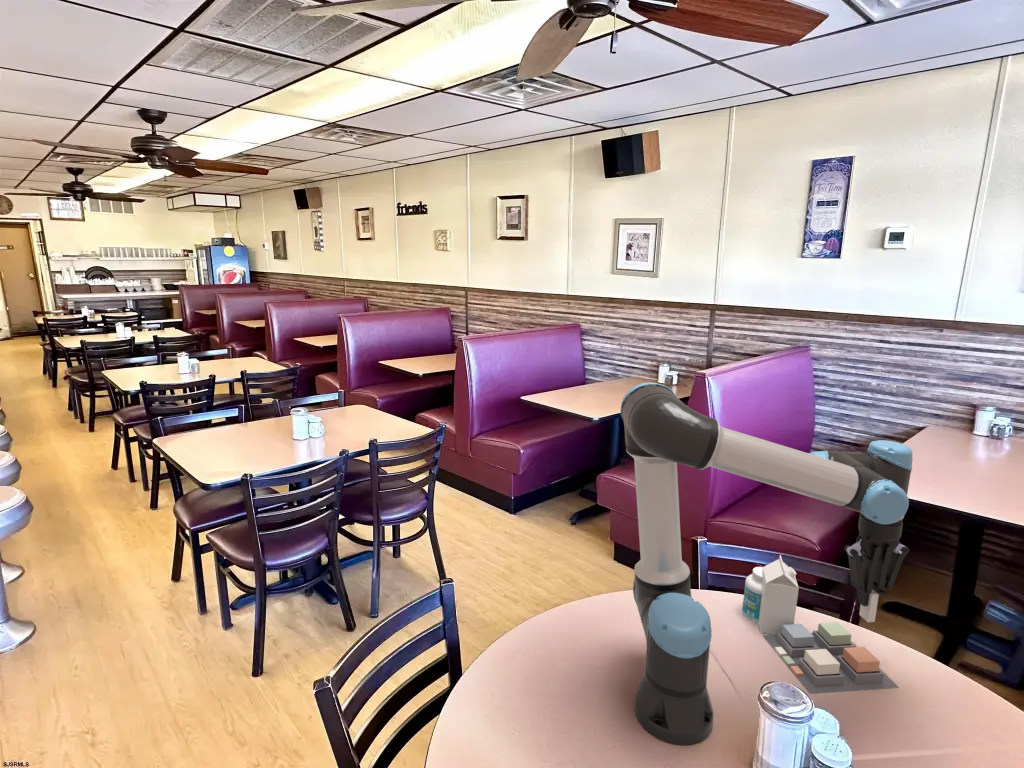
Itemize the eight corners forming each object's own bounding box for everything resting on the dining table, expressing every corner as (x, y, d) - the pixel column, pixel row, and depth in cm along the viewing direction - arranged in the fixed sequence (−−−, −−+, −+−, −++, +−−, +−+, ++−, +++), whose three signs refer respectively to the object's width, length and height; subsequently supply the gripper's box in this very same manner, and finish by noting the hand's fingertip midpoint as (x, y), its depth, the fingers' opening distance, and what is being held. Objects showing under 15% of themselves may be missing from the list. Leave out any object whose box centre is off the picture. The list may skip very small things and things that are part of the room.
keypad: (809, 697, 118) (810, 685, 117) (762, 639, 136) (763, 628, 136) (899, 691, 120) (900, 679, 119) (840, 634, 138) (841, 623, 138)
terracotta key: (857, 672, 121) (858, 662, 120) (842, 657, 125) (843, 647, 125) (878, 671, 121) (879, 661, 121) (862, 656, 126) (864, 646, 125)
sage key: (830, 645, 130) (831, 635, 129) (817, 631, 134) (818, 622, 134) (850, 643, 130) (851, 634, 130) (836, 630, 135) (837, 621, 134)
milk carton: (759, 637, 138) (767, 567, 133) (756, 619, 144) (764, 552, 140) (791, 643, 136) (801, 572, 131) (786, 624, 142) (796, 557, 138)
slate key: (793, 647, 129) (794, 637, 128) (781, 633, 134) (782, 624, 133) (813, 646, 129) (814, 636, 129) (800, 632, 134) (801, 623, 133)
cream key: (817, 675, 120) (818, 665, 120) (803, 659, 125) (805, 650, 124) (838, 673, 120) (839, 663, 120) (824, 658, 125) (825, 648, 125)
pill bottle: (736, 610, 148) (741, 563, 145) (763, 608, 148) (769, 562, 145) (750, 628, 141) (755, 580, 137) (778, 627, 141) (785, 579, 138)
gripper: (864, 524, 112) (849, 630, 117) (925, 522, 113) (909, 627, 118) (839, 509, 119) (826, 609, 124) (897, 506, 121) (882, 606, 125)
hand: (866, 618), depth 121 cm, fingers closed
